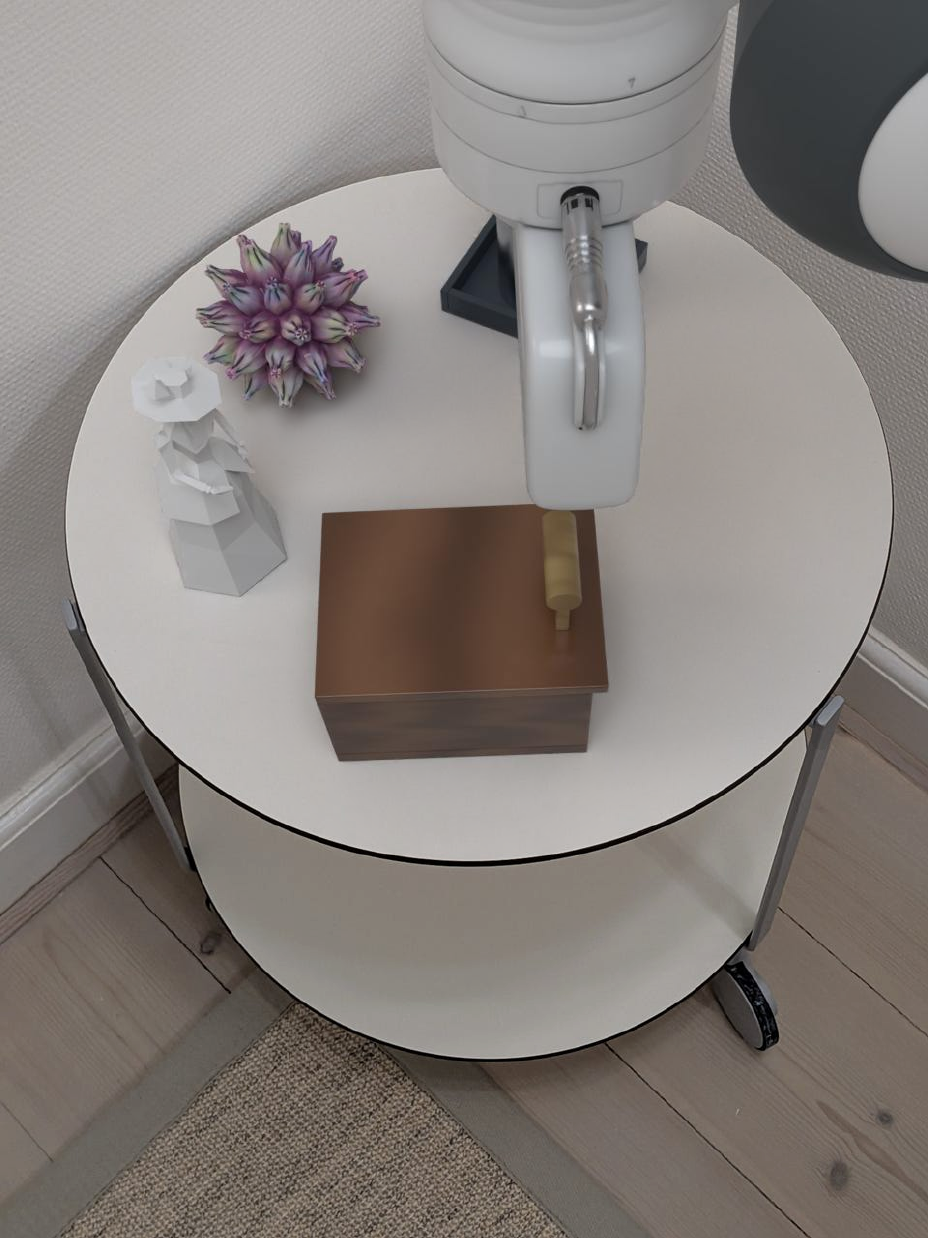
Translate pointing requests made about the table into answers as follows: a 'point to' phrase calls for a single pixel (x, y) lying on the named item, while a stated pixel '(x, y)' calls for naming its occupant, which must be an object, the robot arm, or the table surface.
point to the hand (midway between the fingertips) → (561, 374)
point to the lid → (459, 604)
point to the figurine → (205, 481)
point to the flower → (286, 316)
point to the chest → (458, 727)
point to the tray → (489, 284)
